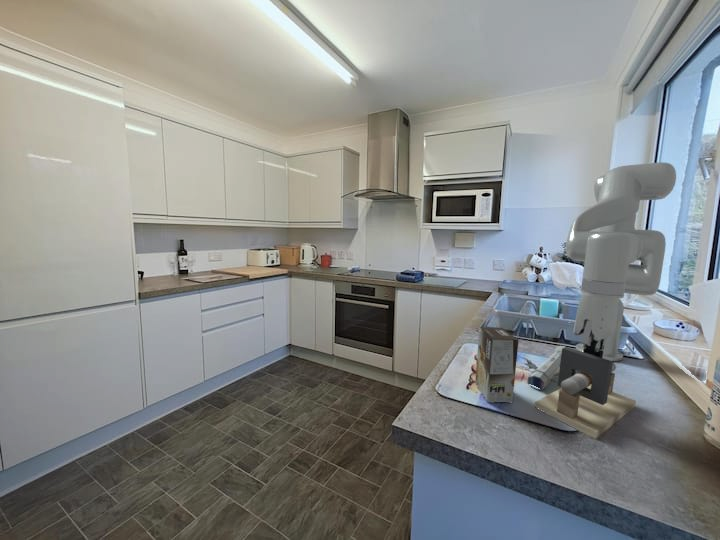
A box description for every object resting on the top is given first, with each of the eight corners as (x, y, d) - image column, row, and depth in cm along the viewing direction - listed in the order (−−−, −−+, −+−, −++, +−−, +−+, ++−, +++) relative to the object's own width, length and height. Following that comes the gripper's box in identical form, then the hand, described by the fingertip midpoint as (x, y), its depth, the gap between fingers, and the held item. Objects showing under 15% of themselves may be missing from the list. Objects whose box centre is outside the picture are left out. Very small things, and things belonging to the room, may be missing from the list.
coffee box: (513, 404, 71) (520, 340, 69) (486, 402, 71) (492, 339, 69) (497, 384, 80) (502, 327, 78) (473, 383, 80) (478, 326, 78)
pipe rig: (577, 383, 81) (582, 350, 80) (635, 406, 71) (641, 369, 70) (534, 407, 70) (539, 369, 68) (595, 439, 59) (602, 394, 58)
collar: (561, 383, 72) (566, 346, 71) (606, 402, 64) (613, 361, 63) (557, 385, 71) (562, 348, 70) (602, 405, 63) (609, 363, 62)
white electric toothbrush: (525, 372, 79) (556, 339, 95) (523, 394, 81) (555, 357, 96) (547, 380, 75) (576, 344, 91) (545, 402, 77) (574, 363, 92)
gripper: (596, 282, 73) (586, 353, 76) (567, 287, 65) (557, 366, 68) (636, 288, 67) (623, 364, 69) (609, 294, 59) (596, 380, 61)
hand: (591, 365), depth 69 cm, fingers closed
